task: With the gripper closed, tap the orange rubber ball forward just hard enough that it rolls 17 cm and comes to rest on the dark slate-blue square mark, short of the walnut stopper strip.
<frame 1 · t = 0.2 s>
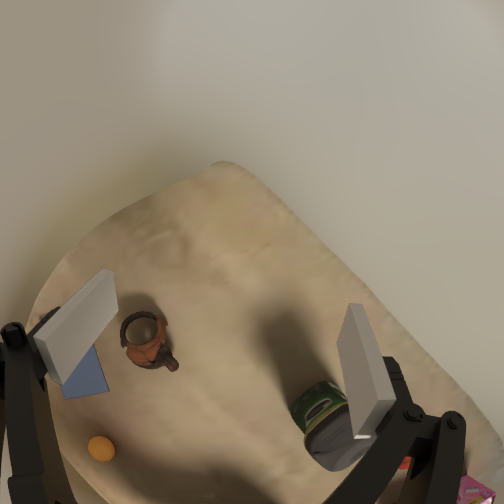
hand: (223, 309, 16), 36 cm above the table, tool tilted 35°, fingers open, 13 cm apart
gum box: (428, 500, 40), on the table
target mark: (76, 367, 48), on the table
coffee jar: (317, 405, 47), on the table
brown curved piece: (156, 345, 50), on the table
ball: (101, 449, 42), on the table
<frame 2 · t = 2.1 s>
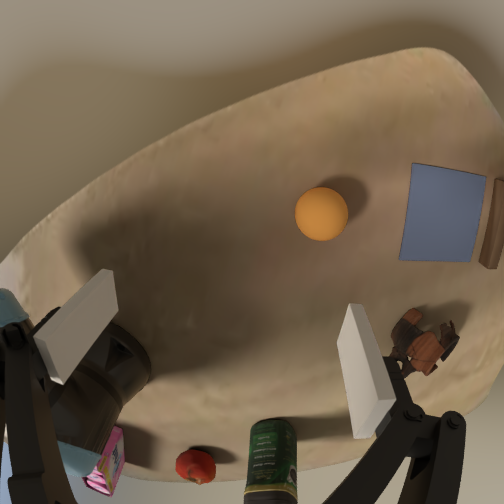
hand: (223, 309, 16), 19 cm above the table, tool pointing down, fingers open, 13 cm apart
gum box: (110, 440, 58), on the table
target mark: (445, 216, 31), on the table
tomato: (199, 453, 55), on the table
coffee jar: (274, 430, 49), on the table
stopper strip: (492, 221, 31), on the table
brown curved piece: (412, 333, 39), on the table
ball: (321, 213, 30), on the table
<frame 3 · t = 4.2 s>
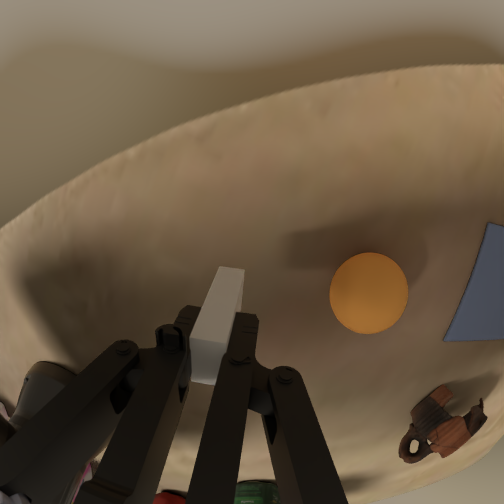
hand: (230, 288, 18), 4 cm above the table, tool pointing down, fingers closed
tomato: (173, 494, 44), on the table
coffee jar: (258, 487, 38), on the table
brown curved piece: (433, 408, 28), on the table
ball: (369, 293, 19), on the table
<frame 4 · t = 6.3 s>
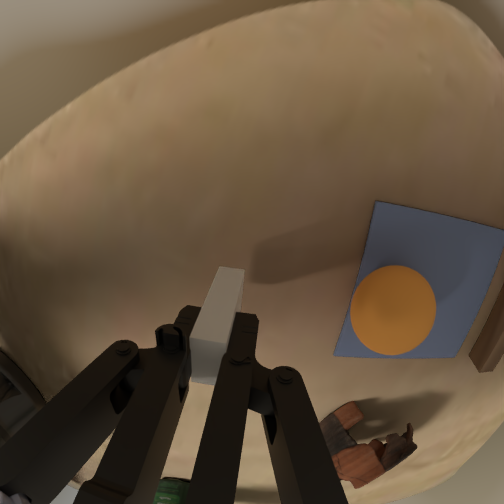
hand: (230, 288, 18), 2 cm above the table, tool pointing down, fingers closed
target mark: (427, 295, 19), on the table
coffee jar: (185, 486, 37), on the table
stopper strip: (503, 301, 18), on the table
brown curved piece: (351, 426, 26), on the table
ball: (393, 310, 16), on the table
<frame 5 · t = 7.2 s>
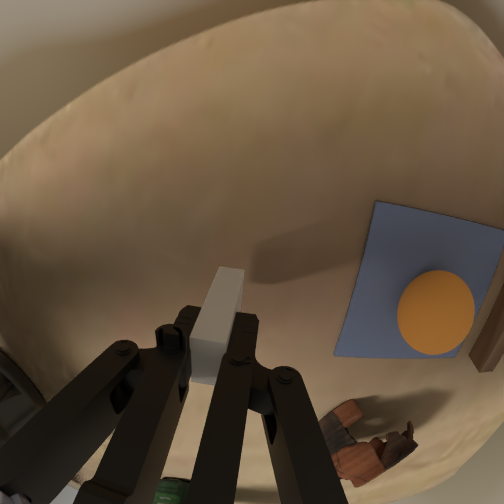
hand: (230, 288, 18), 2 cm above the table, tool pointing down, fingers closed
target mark: (427, 295, 19), on the table
coffee jar: (185, 486, 37), on the table
stopper strip: (503, 301, 18), on the table
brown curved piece: (351, 424, 26), on the table
ball: (436, 312, 16), on the table
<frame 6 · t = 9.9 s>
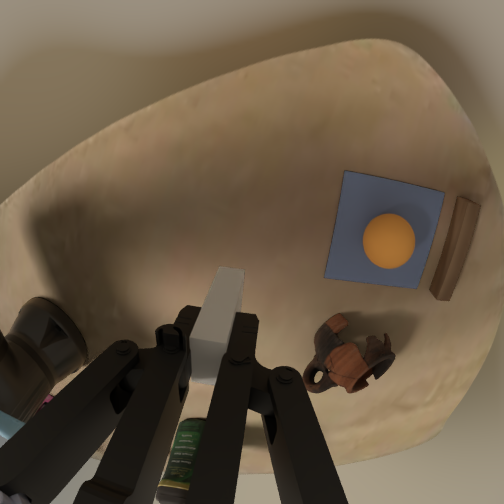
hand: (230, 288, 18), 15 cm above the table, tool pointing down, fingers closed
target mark: (386, 234, 30), on the table
coffee jar: (203, 430, 49), on the table
stopper strip: (450, 246, 30), on the table
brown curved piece: (342, 342, 37), on the table
ball: (389, 241, 28), on the table
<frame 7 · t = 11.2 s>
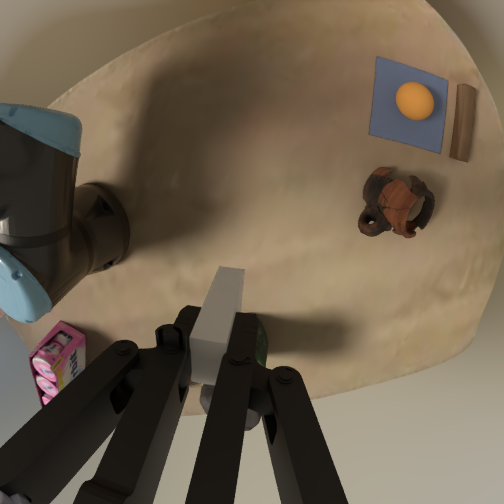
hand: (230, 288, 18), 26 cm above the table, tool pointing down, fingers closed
gum box: (73, 356, 62), on the table
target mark: (411, 104, 34), on the table
coffee jar: (244, 334, 52), on the table
stopper strip: (459, 122, 34), on the table
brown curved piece: (385, 200, 41), on the table
ball: (414, 101, 32), on the table
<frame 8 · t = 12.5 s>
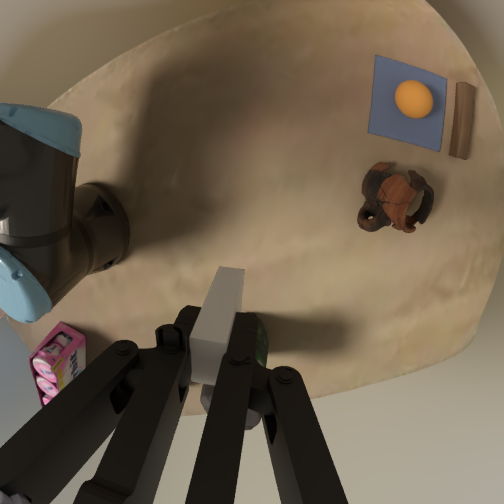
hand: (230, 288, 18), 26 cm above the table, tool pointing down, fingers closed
gum box: (74, 357, 62), on the table
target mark: (410, 103, 34), on the table
coffee jar: (244, 333, 52), on the table
stopper strip: (458, 120, 34), on the table
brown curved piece: (385, 196, 41), on the table
ball: (414, 99, 32), on the table
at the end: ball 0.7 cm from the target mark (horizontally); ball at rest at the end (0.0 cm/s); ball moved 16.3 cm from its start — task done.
